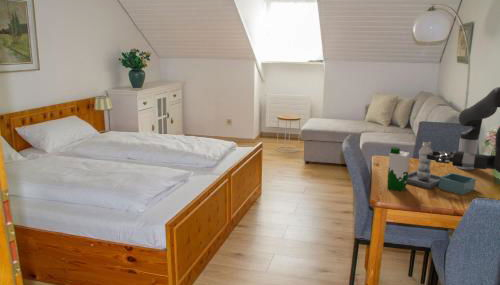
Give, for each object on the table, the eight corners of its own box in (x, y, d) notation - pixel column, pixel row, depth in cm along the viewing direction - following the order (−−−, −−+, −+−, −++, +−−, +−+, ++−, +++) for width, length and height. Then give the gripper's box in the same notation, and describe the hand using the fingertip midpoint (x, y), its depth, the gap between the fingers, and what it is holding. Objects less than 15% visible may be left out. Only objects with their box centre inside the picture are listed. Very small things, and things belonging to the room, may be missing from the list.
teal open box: (450, 182, 219) (451, 172, 217) (474, 189, 210) (475, 178, 208) (438, 188, 211) (439, 177, 210) (462, 195, 202) (464, 183, 201)
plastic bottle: (428, 182, 216) (432, 144, 211) (414, 180, 220) (418, 142, 215) (431, 179, 221) (435, 141, 216) (418, 176, 225) (421, 139, 220)
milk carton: (389, 184, 217) (392, 145, 212) (408, 187, 213) (411, 148, 208) (385, 189, 210) (388, 149, 205) (404, 192, 205) (407, 152, 200)
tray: (416, 174, 232) (416, 170, 231) (445, 182, 220) (446, 177, 219) (400, 180, 222) (400, 176, 221) (429, 189, 210) (429, 184, 209)
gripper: (466, 148, 213) (431, 144, 221) (463, 155, 202) (426, 150, 210) (464, 163, 215) (430, 158, 223) (461, 170, 203) (425, 165, 211)
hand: (428, 154), depth 216 cm, fingers open, 8 cm apart
